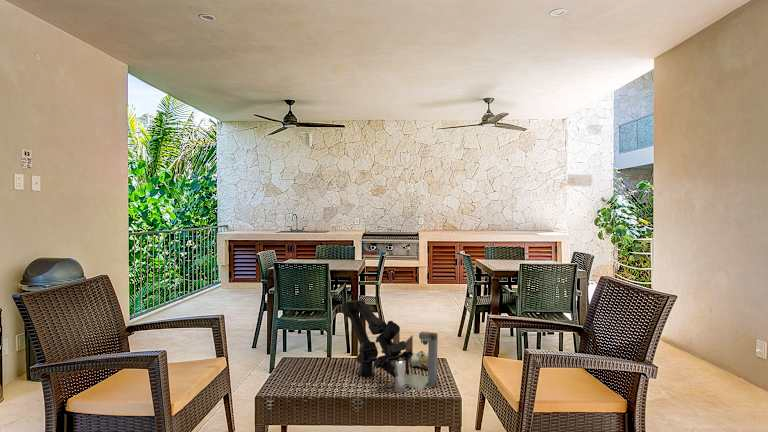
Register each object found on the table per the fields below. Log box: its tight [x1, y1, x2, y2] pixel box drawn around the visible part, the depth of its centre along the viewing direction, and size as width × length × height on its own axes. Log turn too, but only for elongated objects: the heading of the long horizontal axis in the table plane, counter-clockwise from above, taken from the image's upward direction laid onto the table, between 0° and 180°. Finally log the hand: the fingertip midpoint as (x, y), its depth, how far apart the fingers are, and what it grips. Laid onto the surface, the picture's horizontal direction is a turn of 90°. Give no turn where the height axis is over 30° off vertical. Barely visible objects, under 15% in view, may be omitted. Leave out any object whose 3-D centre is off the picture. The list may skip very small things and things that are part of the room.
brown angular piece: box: [392, 330, 414, 364], centre depth 243 cm, size 4×11×18 cm, turn 82°
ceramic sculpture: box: [409, 350, 439, 370], centre depth 233 cm, size 11×9×15 cm
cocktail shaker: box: [394, 357, 407, 393], centre depth 201 cm, size 5×5×14 cm
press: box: [405, 331, 438, 390], centre depth 208 cm, size 16×19×23 cm
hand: (402, 375), depth 199 cm, fingers open, 7 cm apart
